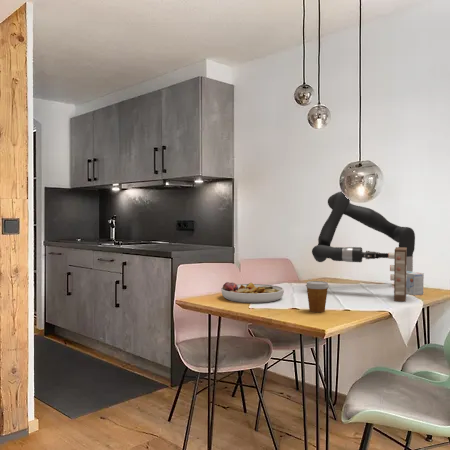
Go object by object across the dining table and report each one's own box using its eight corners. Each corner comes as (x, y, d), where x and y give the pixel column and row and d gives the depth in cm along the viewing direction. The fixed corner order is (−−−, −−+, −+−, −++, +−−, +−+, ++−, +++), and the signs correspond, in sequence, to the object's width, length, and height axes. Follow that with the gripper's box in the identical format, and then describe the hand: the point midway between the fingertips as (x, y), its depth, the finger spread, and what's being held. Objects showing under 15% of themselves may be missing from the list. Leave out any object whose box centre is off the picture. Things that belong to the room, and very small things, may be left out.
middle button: (390, 270, 230) (390, 264, 230) (406, 271, 228) (406, 265, 228) (389, 271, 228) (389, 265, 227) (406, 272, 225) (406, 265, 225)
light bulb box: (398, 292, 251) (398, 271, 250) (407, 291, 254) (407, 270, 253) (414, 295, 241) (414, 273, 241) (423, 294, 244) (424, 273, 244)
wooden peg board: (395, 295, 241) (395, 247, 240) (406, 296, 239) (406, 247, 238) (394, 301, 225) (394, 249, 224) (405, 302, 223) (406, 250, 223)
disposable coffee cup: (312, 307, 210) (312, 280, 209) (332, 310, 204) (332, 282, 203) (301, 311, 202) (301, 282, 202) (321, 314, 196) (321, 284, 196)
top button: (388, 258, 240) (388, 252, 240) (404, 258, 237) (404, 252, 237) (388, 258, 237) (388, 252, 237) (404, 259, 234) (404, 253, 234)
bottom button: (390, 279, 235) (390, 273, 235) (406, 280, 232) (406, 274, 232) (390, 280, 232) (390, 274, 232) (406, 281, 230) (406, 275, 230)
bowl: (280, 293, 248) (280, 278, 248) (286, 304, 218) (287, 287, 218) (222, 293, 249) (222, 278, 249) (220, 304, 219) (220, 287, 219)
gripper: (350, 248, 239) (387, 249, 232) (353, 246, 251) (389, 247, 245) (350, 263, 239) (387, 264, 233) (353, 260, 251) (389, 261, 245)
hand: (388, 255), depth 239 cm, fingers closed
